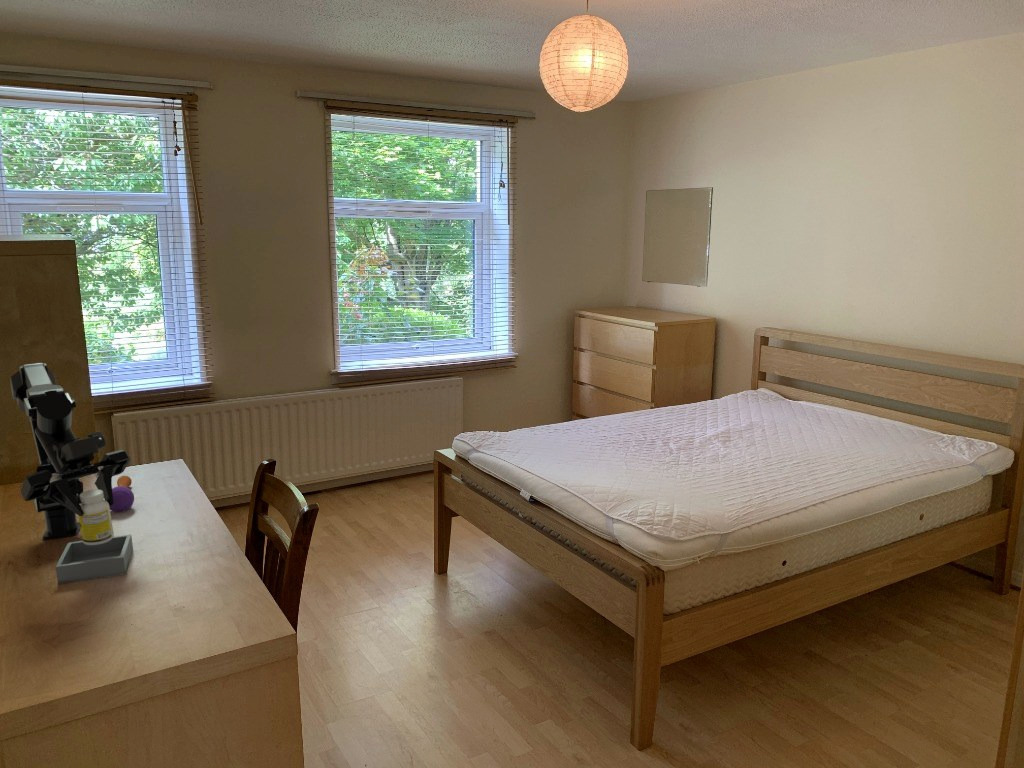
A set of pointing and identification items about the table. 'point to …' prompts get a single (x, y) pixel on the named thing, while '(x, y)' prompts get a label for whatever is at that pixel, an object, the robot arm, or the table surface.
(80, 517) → the supplement bottle
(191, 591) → the table surface
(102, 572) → the tray
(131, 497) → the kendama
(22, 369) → the robot arm
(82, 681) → the table surface
